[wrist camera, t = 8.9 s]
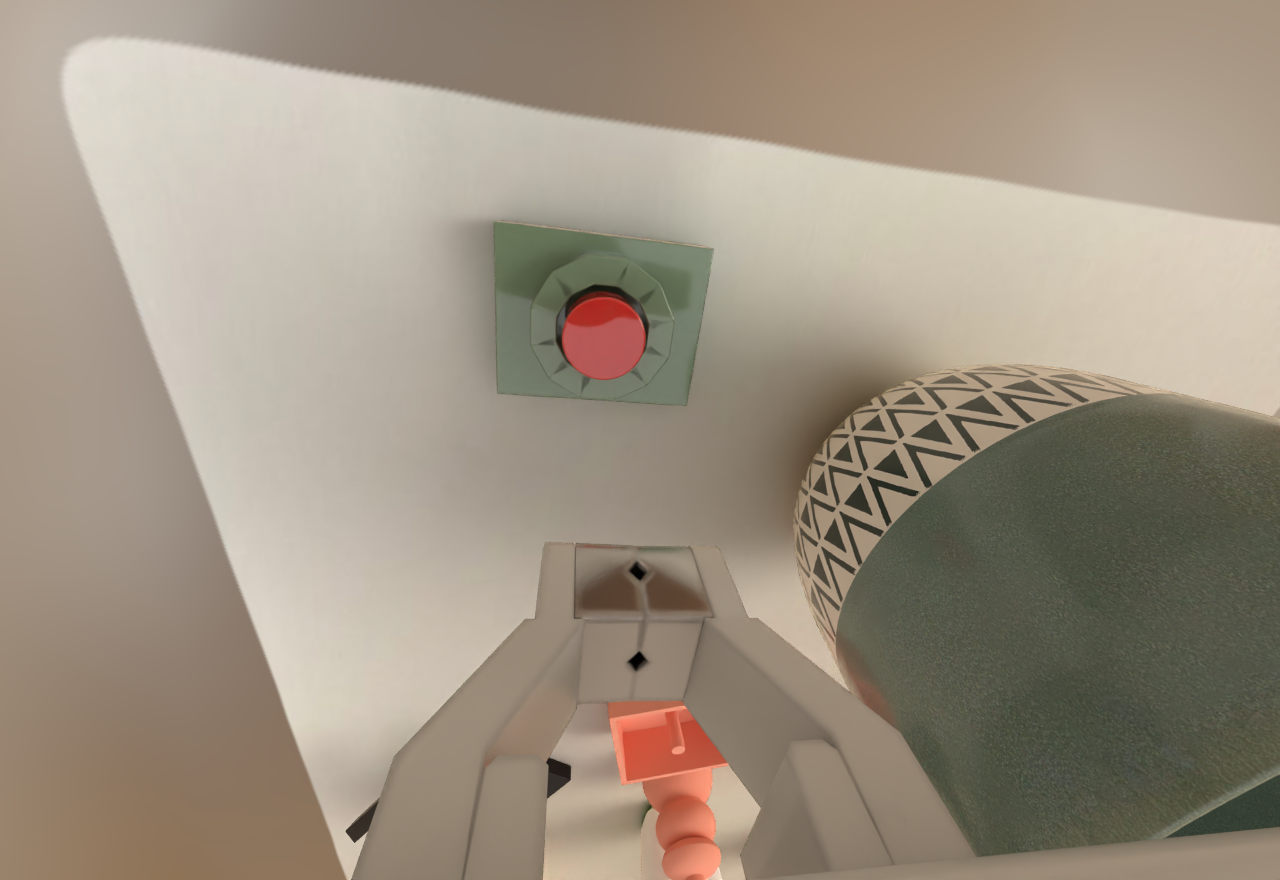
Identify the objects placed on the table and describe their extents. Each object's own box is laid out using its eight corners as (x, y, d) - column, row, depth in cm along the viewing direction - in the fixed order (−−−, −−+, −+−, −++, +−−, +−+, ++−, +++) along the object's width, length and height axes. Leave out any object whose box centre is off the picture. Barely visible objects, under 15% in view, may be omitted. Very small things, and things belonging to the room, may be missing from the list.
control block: (503, 379, 25) (490, 407, 21) (501, 220, 22) (485, 221, 18) (678, 392, 27) (694, 420, 23) (703, 245, 23) (725, 251, 20)
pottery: (605, 667, 37) (614, 809, 28) (719, 648, 37) (763, 781, 29) (627, 785, 45) (639, 923, 36) (720, 768, 46) (754, 900, 37)
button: (561, 365, 21) (560, 377, 20) (564, 286, 20) (563, 292, 18) (636, 371, 22) (640, 383, 20) (645, 295, 20) (651, 301, 19)
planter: (1076, 314, 28) (2188, 545, 9) (961, 565, 36) (1380, 953, 17) (764, 310, 25) (1353, 620, 6) (722, 580, 34) (906, 1051, 15)
